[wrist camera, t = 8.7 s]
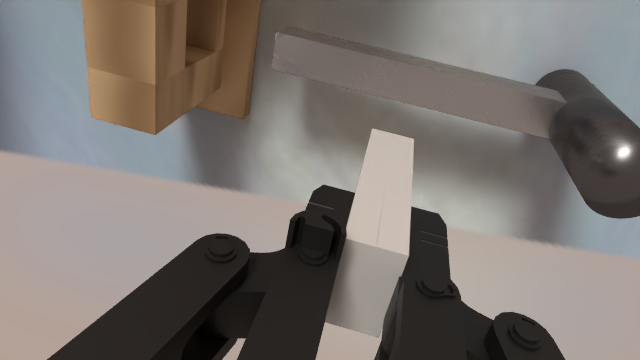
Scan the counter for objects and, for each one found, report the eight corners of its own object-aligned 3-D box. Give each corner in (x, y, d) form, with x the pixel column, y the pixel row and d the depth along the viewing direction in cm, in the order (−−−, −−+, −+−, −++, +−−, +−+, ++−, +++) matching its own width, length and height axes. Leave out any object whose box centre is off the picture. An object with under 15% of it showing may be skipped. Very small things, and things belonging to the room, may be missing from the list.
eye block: (153, 88, 36) (63, 139, 27) (153, -117, 29) (31, -139, 20) (248, 113, 36) (186, 174, 27) (271, -92, 29) (197, -103, 20)
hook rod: (293, 58, 32) (229, 116, 22) (301, 6, 31) (235, 42, 20) (575, 128, 31) (648, 227, 20) (601, 77, 29) (696, 157, 18)
